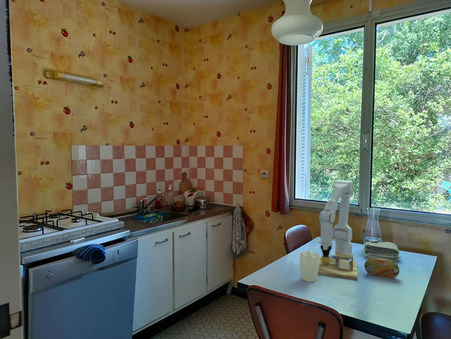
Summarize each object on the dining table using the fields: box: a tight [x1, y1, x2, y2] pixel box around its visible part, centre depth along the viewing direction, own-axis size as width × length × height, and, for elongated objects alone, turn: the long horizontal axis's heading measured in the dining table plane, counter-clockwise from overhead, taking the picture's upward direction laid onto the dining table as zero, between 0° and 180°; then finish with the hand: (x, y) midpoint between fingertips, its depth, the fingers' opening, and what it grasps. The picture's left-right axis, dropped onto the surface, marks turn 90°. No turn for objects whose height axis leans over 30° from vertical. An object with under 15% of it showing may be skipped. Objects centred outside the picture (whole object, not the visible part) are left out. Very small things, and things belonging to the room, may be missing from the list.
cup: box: [299, 250, 320, 283], centre depth 143 cm, size 9×9×12 cm
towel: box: [362, 241, 400, 262], centre depth 178 cm, size 15×18×8 cm
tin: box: [363, 258, 400, 279], centre depth 148 cm, size 15×3×8 cm, turn 62°
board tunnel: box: [317, 252, 359, 281], centre depth 157 cm, size 22×19×8 cm
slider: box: [321, 255, 351, 271], centre depth 156 cm, size 6×14×4 cm, turn 68°
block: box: [339, 258, 350, 269], centre depth 154 cm, size 4×4×4 cm
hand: (325, 259), depth 161 cm, fingers closed
